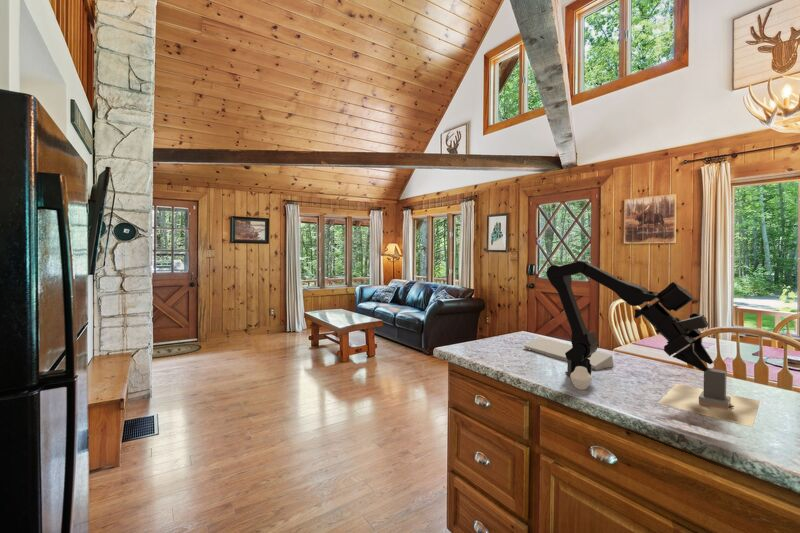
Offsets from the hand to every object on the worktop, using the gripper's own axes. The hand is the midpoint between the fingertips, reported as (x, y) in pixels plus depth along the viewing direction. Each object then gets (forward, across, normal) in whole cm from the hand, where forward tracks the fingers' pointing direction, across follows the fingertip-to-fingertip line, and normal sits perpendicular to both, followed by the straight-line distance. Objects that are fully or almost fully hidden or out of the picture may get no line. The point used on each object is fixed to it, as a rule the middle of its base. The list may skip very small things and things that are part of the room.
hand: (709, 366), depth 104 cm
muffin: (-13, -11, +29) cm, 34 cm away
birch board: (+8, 0, +8) cm, 11 cm away
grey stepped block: (+8, 0, +6) cm, 10 cm away
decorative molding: (-25, +21, +43) cm, 54 cm away
